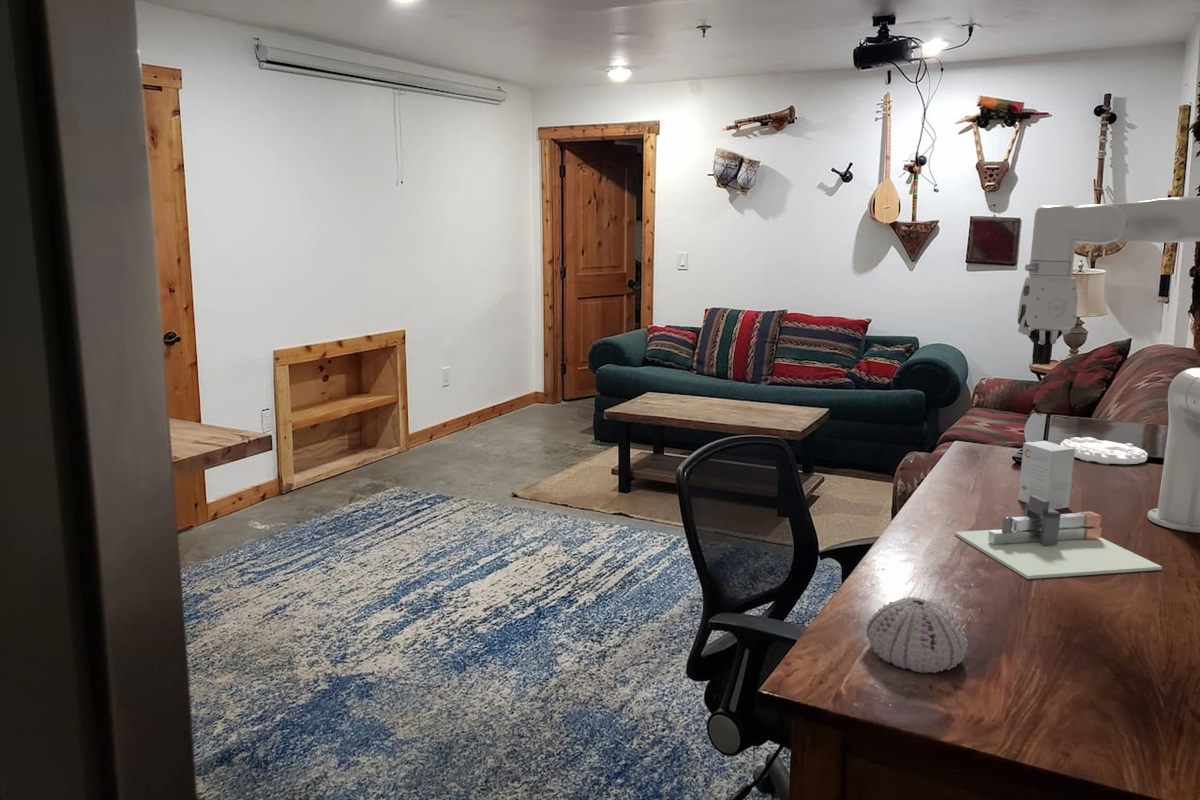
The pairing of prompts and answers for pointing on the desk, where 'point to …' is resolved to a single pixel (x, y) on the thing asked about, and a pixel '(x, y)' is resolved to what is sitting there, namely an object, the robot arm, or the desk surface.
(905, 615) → the sea urchin shell
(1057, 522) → the lock collar
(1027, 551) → the mat
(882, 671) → the desk surface
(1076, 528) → the base
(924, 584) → the desk surface
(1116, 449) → the embossed medallion
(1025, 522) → the jaw
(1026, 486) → the small box
